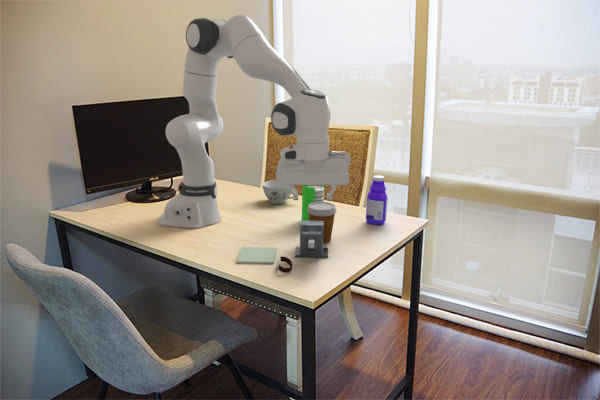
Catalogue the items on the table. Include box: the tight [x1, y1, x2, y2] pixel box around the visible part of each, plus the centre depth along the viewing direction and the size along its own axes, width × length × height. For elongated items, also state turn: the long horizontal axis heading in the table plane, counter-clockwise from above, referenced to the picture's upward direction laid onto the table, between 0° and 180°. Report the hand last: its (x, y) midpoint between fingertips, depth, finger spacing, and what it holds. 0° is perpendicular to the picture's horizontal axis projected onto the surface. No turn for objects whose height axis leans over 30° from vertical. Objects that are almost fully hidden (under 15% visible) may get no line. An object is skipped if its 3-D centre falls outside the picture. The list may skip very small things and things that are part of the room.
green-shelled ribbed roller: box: [301, 185, 325, 221], centre depth 172 cm, size 9×8×18 cm
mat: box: [235, 246, 278, 265], centre depth 146 cm, size 11×11×1 cm
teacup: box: [262, 179, 298, 205], centre depth 196 cm, size 15×12×8 cm
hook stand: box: [294, 220, 329, 259], centre depth 142 cm, size 10×15×10 cm, turn 178°
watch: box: [275, 255, 293, 274], centre depth 137 cm, size 8×5×4 cm, turn 3°
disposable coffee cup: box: [307, 201, 337, 245], centre depth 156 cm, size 10×10×12 cm
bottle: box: [365, 174, 388, 226], centre depth 172 cm, size 7×6×17 cm
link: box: [302, 232, 321, 255], centre depth 138 cm, size 6×2×6 cm, turn 88°
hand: (312, 199), depth 134 cm, fingers open, 8 cm apart
